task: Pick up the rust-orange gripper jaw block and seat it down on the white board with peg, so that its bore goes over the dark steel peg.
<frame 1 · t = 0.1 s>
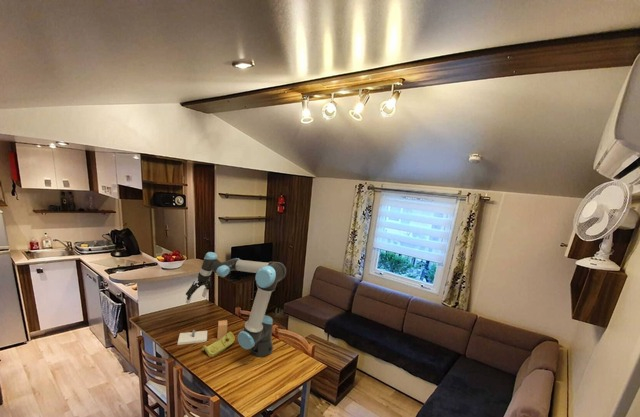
hand: (195, 299, 181), 28 cm above the table, tool tilted 20°, fingers open, 13 cm apart
white board with peg: (193, 338, 182), on the table
jaw: (221, 336, 188), on the table
plastic component: (219, 349, 174), on the table
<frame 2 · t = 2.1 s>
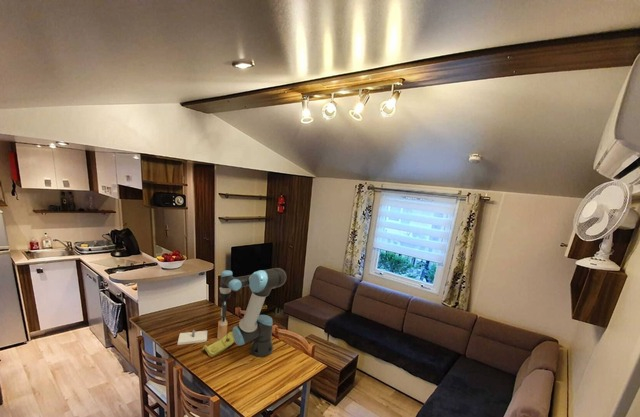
hand: (222, 320, 188), 12 cm above the table, tool pointing down, fingers open, 13 cm apart
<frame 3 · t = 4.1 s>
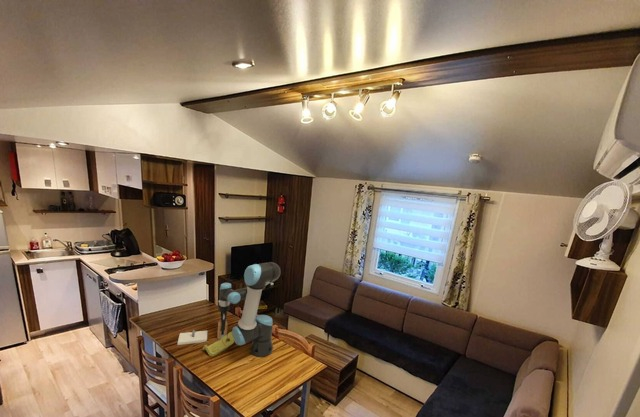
hand: (221, 335, 188), 1 cm above the table, tool pointing down, fingers closed on jaw, 7 cm apart
jaw: (221, 336, 188), on the table, touching gripper
everything else where it was.
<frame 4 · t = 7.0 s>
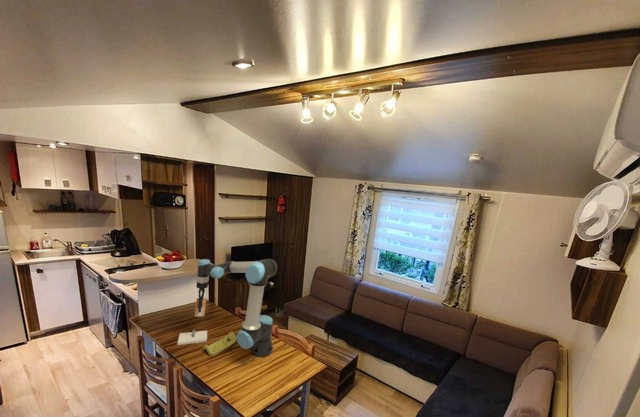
hand: (199, 313, 183), 18 cm above the table, tool pointing down, fingers closed on jaw, 7 cm apart
jaw: (199, 313, 183), point 17 cm above the table, touching gripper
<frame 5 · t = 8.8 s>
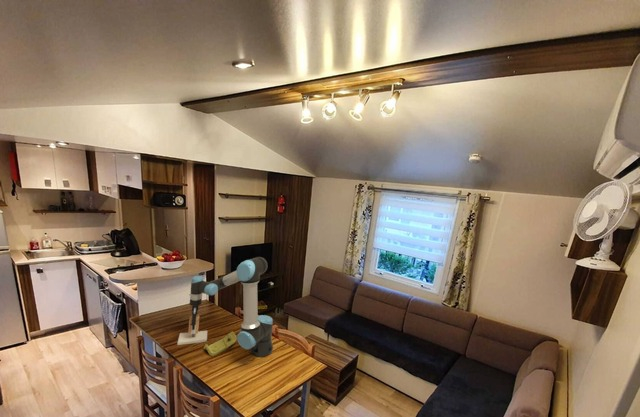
hand: (193, 330, 182), 6 cm above the table, tool pointing down, fingers closed on jaw, 7 cm apart
jaw: (193, 331, 182), point 5 cm above the table, touching gripper
when the fingers open (3 cm above the table, at t = 10.1 s): jaw stays where it is, resting on white board with peg.
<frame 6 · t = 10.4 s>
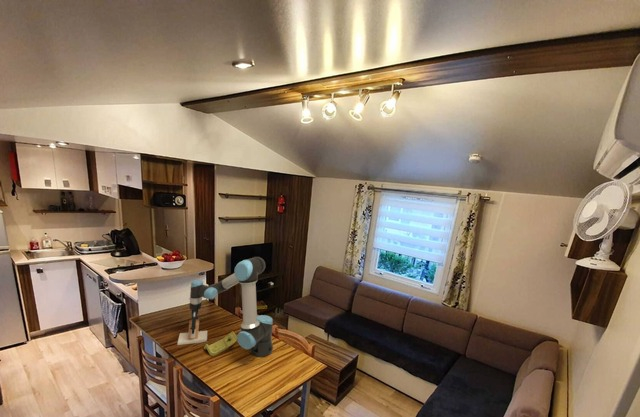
hand: (193, 332, 182), 4 cm above the table, tool pointing down, fingers open, 11 cm apart
jaw: (193, 336, 182), point 1 cm above the table, touching white board with peg
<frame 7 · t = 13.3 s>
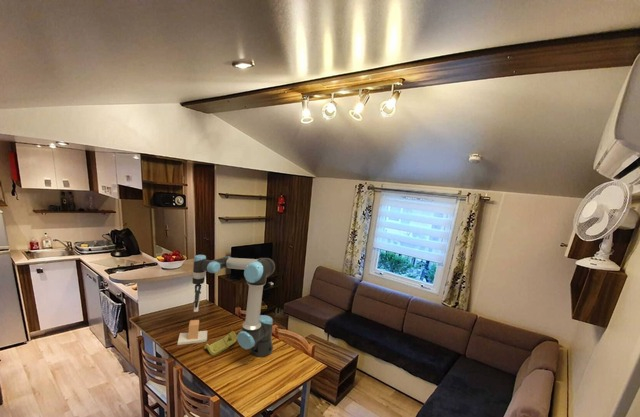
hand: (196, 307, 181), 23 cm above the table, tool pointing down, fingers open, 13 cm apart
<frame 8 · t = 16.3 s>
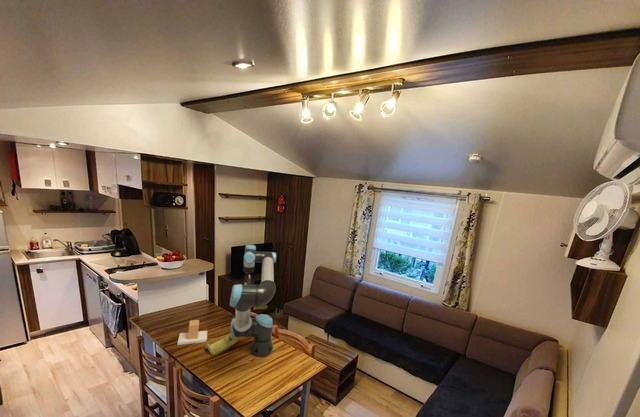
hand: (246, 294, 191), 31 cm above the table, tool pointing down, fingers open, 13 cm apart
at the end: jaw 0.0 cm off-centre on the white board with peg, point 1.5 cm above the white board with peg's base; jaw tilted 0°; the gripper is holding nothing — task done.
